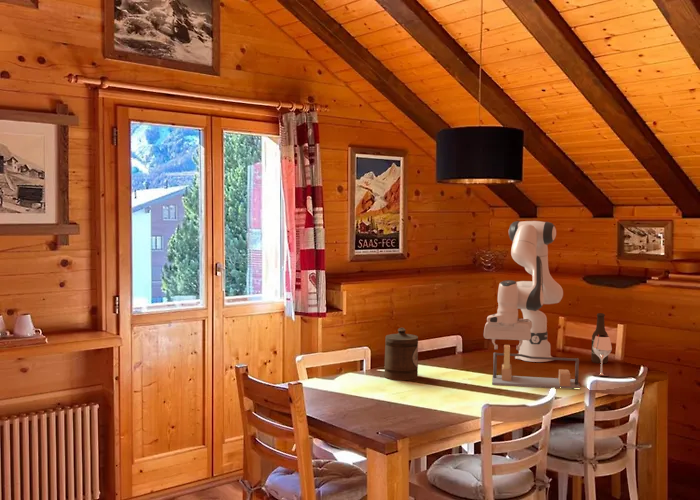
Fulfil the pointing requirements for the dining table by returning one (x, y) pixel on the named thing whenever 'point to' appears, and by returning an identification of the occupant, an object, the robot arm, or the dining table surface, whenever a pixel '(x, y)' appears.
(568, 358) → the rod
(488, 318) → the robot arm
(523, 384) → the stand
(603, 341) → the wineglass
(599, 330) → the beer bottle
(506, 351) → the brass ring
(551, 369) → the dining table surface
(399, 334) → the wooden container
